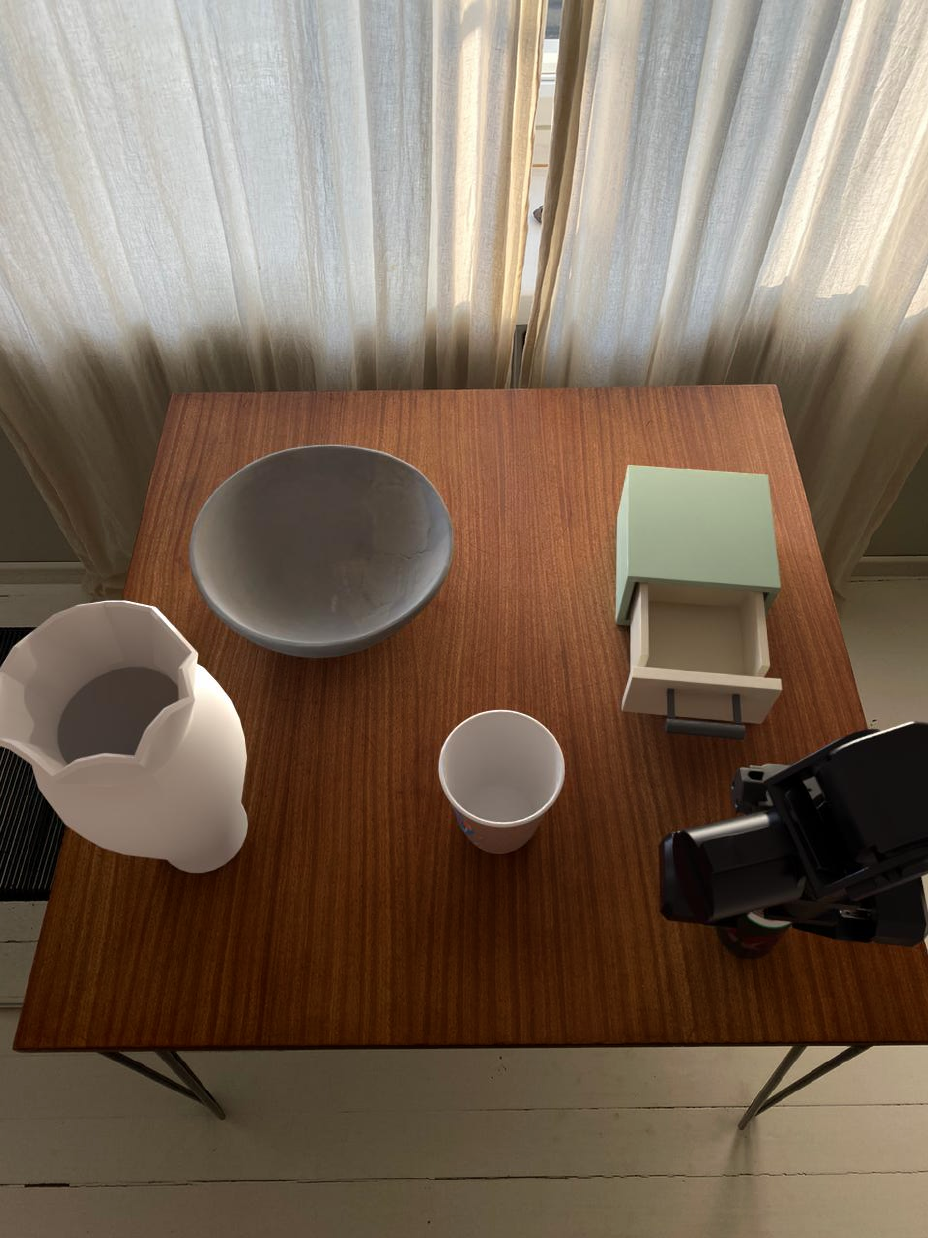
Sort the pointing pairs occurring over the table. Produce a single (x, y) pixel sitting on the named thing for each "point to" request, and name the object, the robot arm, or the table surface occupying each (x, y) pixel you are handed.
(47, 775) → the vase
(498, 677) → the table surface
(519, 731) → the coffee cup
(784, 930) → the soda can
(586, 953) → the table surface
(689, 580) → the cabinet
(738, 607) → the drawer
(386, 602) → the bowl
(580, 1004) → the table surface
